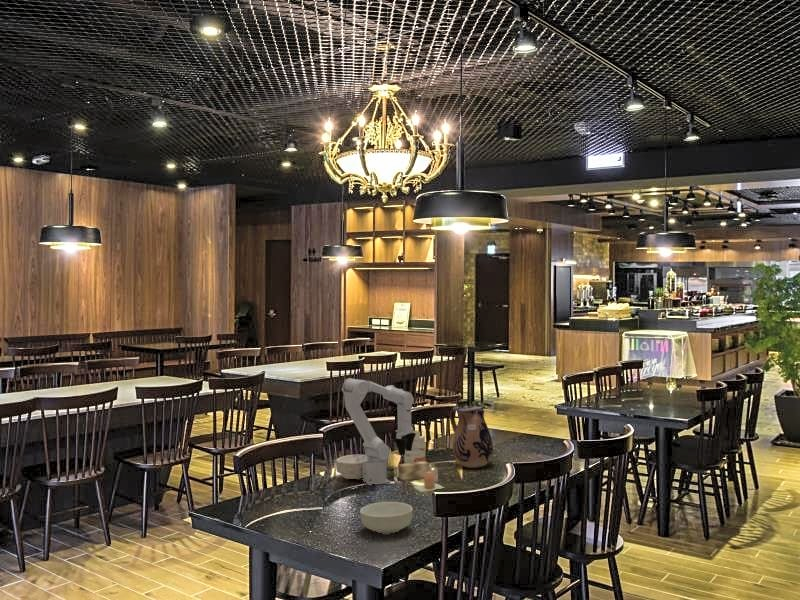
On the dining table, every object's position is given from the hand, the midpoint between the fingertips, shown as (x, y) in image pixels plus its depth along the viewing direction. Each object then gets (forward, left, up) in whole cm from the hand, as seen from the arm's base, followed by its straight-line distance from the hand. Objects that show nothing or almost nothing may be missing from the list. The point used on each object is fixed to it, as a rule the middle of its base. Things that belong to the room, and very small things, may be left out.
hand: (405, 452), depth 298 cm
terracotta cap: (0, -24, -9) cm, 25 cm away
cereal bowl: (-32, -60, -10) cm, 69 cm away
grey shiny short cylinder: (+5, -16, -9) cm, 19 cm away
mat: (0, -23, -9) cm, 25 cm away
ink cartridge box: (+12, +18, -10) cm, 24 cm away
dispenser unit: (+1, -6, -9) cm, 11 cm away
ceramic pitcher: (+31, +2, -10) cm, 33 cm away
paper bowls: (-20, +7, -10) cm, 23 cm away
